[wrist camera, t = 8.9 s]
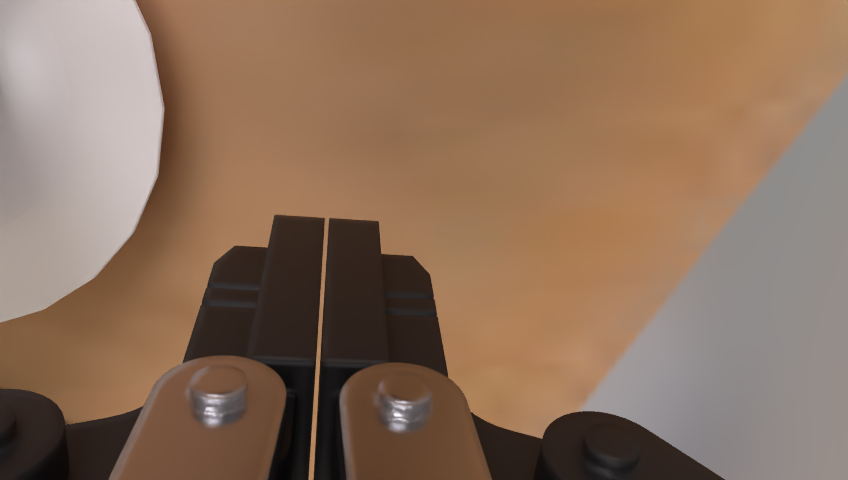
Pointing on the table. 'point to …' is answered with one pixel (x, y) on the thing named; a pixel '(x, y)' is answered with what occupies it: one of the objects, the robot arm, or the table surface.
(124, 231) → the teacup
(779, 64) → the table surface
